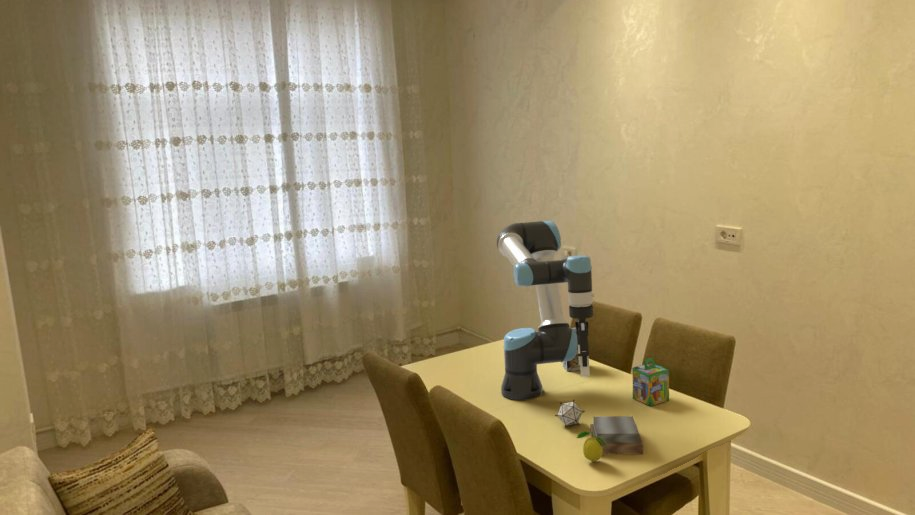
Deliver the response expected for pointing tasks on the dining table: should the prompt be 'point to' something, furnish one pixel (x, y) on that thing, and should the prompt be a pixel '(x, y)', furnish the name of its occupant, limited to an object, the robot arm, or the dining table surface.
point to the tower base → (620, 446)
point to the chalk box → (650, 383)
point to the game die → (569, 413)
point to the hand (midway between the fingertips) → (584, 370)
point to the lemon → (592, 446)
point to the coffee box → (573, 363)
